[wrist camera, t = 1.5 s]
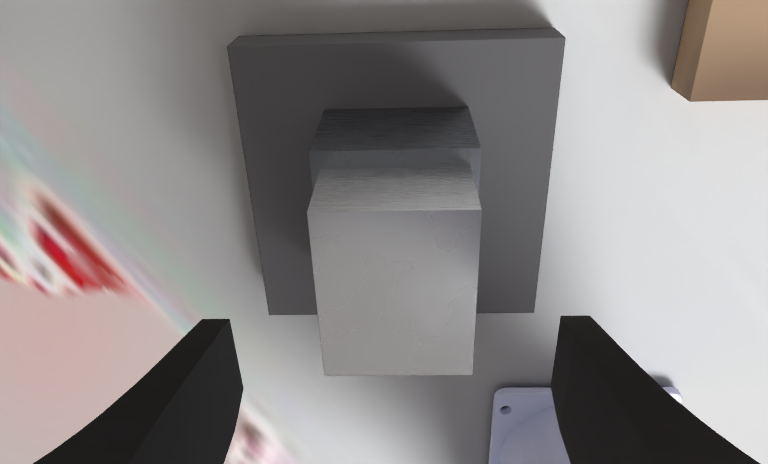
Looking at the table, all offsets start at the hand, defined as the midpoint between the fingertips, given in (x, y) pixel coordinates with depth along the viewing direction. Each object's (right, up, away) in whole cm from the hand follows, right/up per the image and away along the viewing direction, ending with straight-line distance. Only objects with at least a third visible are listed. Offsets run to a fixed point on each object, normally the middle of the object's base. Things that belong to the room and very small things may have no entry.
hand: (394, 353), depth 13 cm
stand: (0, +5, +8) cm, 10 cm away
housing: (0, +4, +7) cm, 8 cm away
